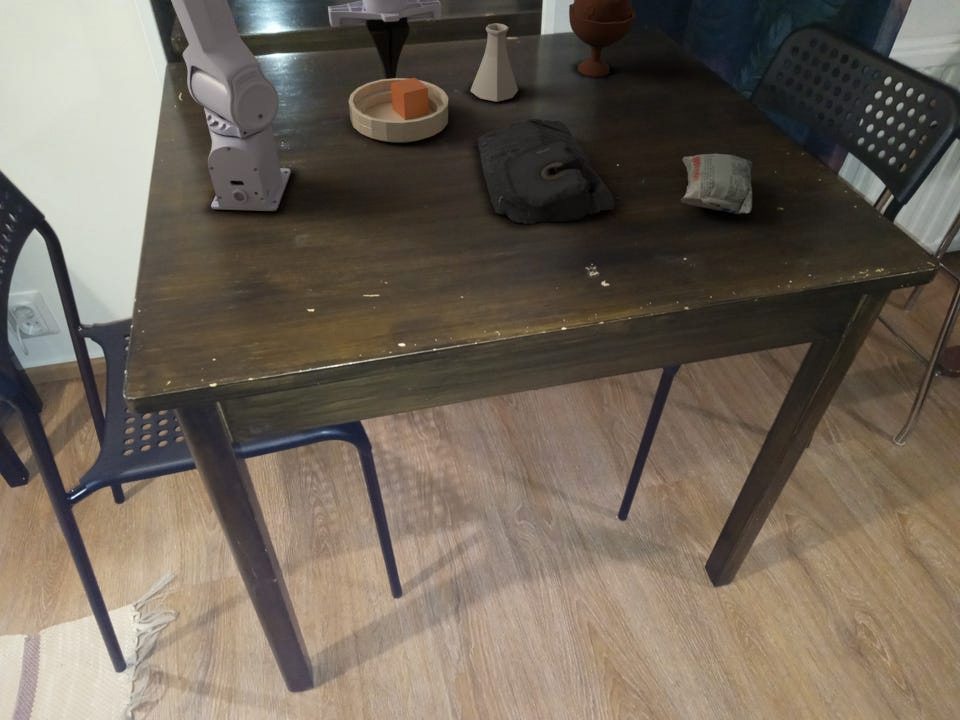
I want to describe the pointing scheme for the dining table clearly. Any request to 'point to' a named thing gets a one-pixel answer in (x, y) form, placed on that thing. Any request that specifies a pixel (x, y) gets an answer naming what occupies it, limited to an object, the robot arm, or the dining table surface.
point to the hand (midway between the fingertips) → (389, 75)
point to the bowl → (395, 113)
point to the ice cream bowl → (600, 28)
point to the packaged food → (719, 183)
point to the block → (410, 98)
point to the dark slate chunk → (540, 174)
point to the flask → (495, 68)
